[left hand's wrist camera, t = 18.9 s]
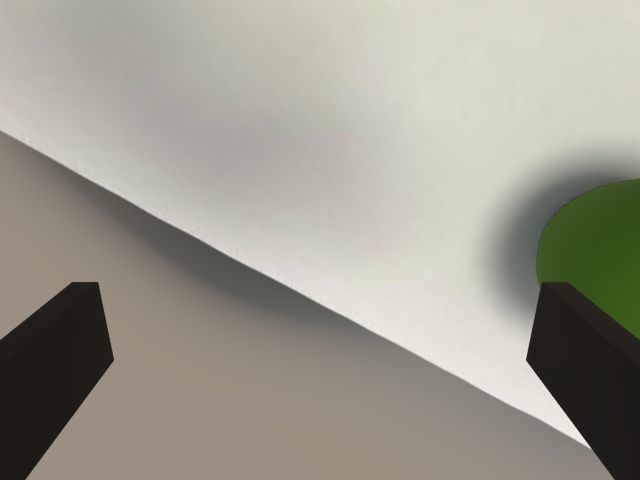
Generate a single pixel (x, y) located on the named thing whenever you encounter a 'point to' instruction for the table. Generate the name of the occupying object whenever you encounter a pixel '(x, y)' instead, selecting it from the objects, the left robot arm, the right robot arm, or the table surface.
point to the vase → (598, 250)
